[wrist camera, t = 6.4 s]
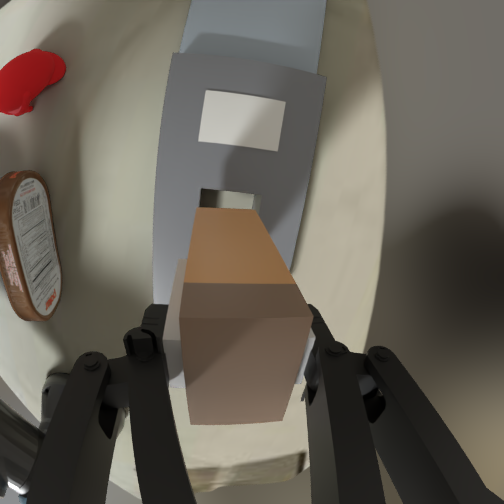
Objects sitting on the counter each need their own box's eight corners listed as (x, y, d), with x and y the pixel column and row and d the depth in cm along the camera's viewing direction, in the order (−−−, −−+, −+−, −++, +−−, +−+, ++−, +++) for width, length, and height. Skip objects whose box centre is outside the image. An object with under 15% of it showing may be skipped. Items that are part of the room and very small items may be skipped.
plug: (195, 284, 21) (190, 424, 10) (196, 207, 18) (178, 317, 8) (247, 285, 21) (282, 420, 11) (255, 209, 19) (313, 316, 8)
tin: (30, 165, 20) (-22, 183, 13) (52, 161, 21) (0, 178, 13) (52, 292, 26) (20, 336, 19) (72, 294, 27) (42, 341, 19)
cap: (-2, 137, 16) (13, 118, 13) (-24, 93, 11) (-11, 64, 9) (53, 96, 20) (79, 75, 18) (35, 56, 16) (60, 29, 14)
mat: (178, 63, 19) (177, 61, 18) (204, -35, 14) (204, -39, 14) (312, 83, 21) (315, 81, 21) (325, -13, 17) (328, -16, 16)
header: (159, 287, 28) (153, 308, 24) (178, 63, 19) (172, 51, 16) (271, 296, 30) (279, 316, 27) (312, 83, 21) (327, 76, 18)
